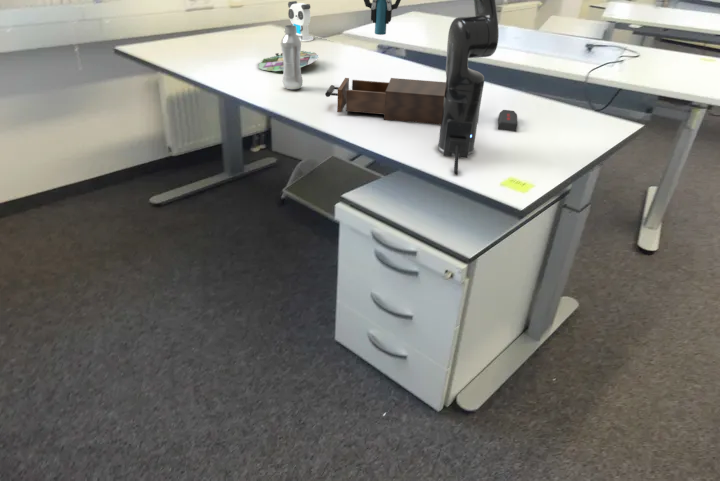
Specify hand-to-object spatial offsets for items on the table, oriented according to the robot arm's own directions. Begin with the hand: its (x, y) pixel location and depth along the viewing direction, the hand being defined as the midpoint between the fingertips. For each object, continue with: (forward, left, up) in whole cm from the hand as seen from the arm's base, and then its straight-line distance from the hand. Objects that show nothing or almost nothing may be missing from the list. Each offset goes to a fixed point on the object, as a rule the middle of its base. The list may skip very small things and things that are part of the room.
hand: (380, 22), depth 164 cm
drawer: (-12, +3, -23) cm, 26 cm away
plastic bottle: (+3, +29, -24) cm, 38 cm away
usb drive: (-13, -41, -24) cm, 49 cm away
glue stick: (0, 0, -3) cm, 3 cm away
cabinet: (-12, -14, -24) cm, 30 cm away
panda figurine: (+75, +45, -24) cm, 91 cm away
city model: (+30, +38, -24) cm, 54 cm away
